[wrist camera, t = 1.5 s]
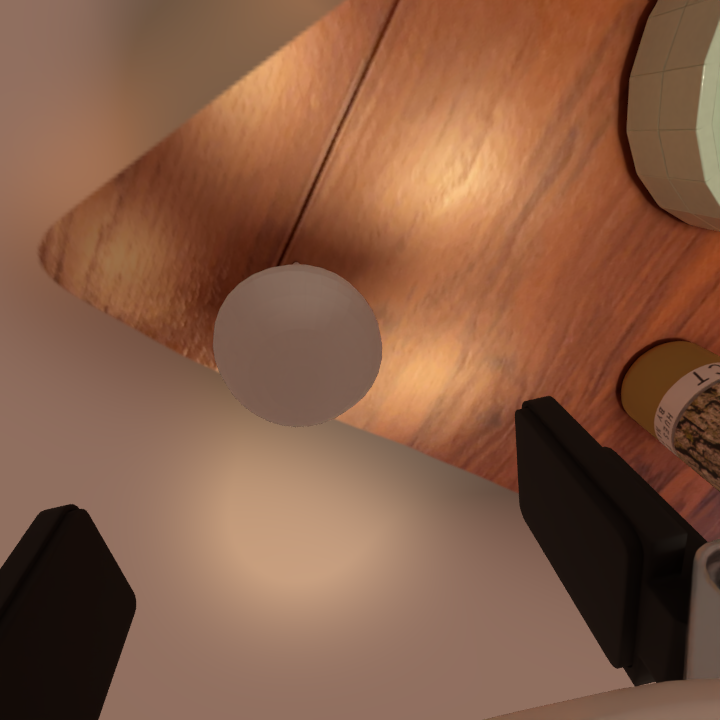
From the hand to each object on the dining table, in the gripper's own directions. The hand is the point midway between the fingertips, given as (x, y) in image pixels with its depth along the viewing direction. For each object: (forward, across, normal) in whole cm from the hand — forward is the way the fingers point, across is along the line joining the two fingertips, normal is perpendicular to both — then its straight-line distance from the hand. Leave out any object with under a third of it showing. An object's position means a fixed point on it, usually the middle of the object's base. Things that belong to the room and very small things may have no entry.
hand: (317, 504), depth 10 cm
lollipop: (+20, 0, 0) cm, 20 cm away
